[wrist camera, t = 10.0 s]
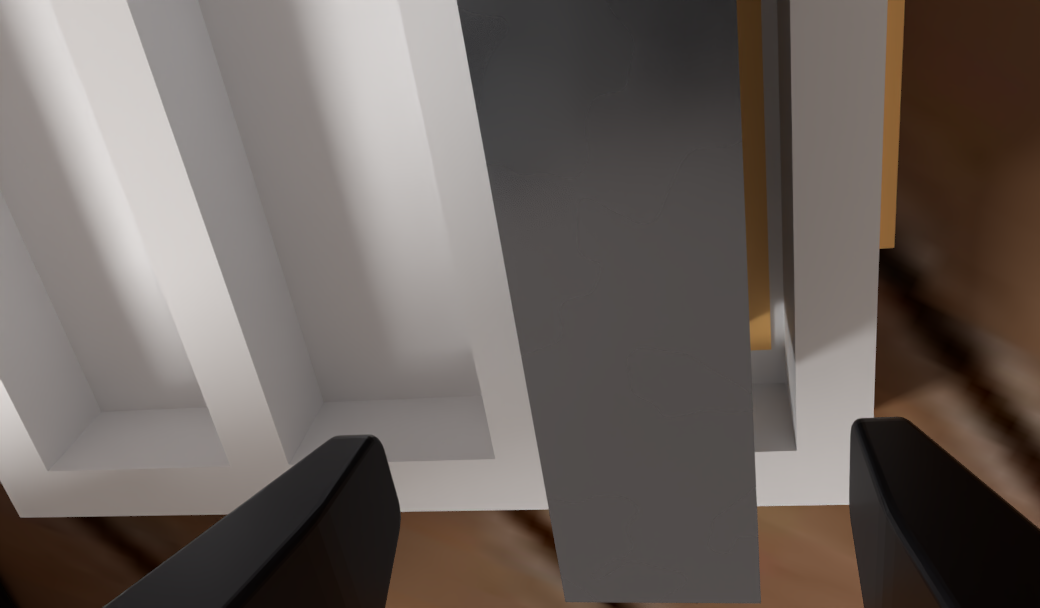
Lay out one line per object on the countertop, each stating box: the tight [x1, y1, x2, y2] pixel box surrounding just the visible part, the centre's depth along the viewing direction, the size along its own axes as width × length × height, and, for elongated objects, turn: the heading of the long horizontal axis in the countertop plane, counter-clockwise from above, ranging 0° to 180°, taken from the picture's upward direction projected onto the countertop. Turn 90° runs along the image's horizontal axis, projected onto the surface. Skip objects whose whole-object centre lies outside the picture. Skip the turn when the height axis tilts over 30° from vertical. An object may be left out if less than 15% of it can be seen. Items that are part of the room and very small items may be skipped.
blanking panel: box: [457, 0, 761, 603], centre depth 15 cm, size 12×3×8 cm, turn 9°
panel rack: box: [0, 0, 905, 518], centre depth 19 cm, size 18×21×3 cm
